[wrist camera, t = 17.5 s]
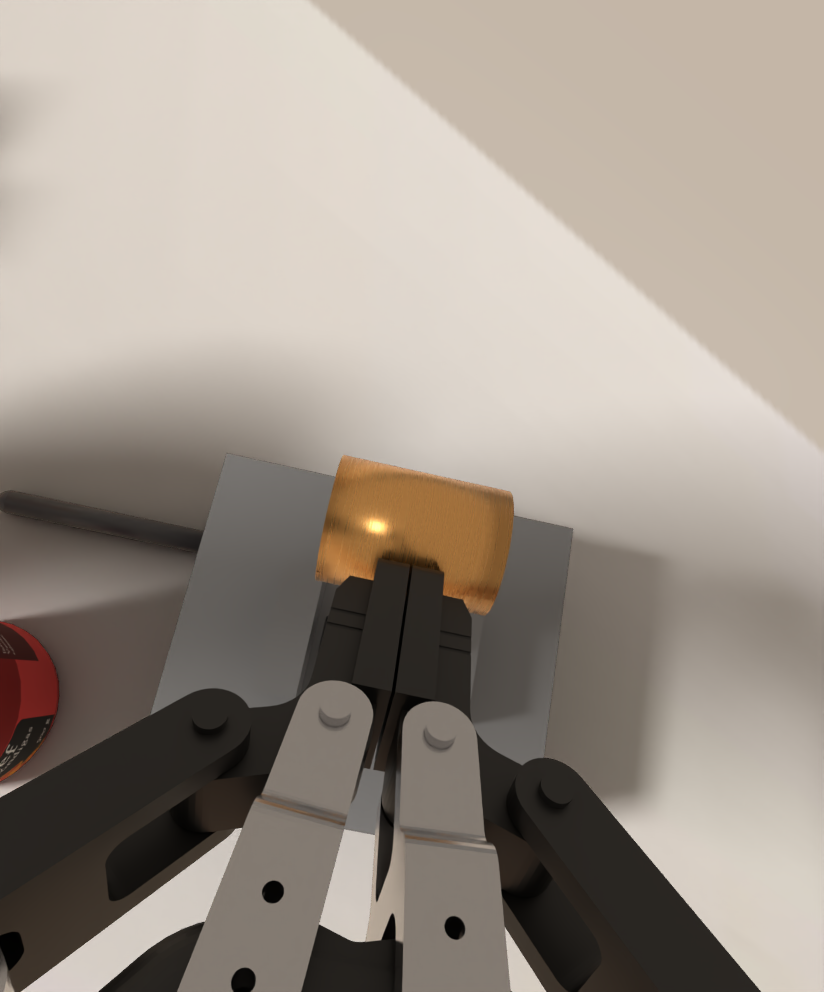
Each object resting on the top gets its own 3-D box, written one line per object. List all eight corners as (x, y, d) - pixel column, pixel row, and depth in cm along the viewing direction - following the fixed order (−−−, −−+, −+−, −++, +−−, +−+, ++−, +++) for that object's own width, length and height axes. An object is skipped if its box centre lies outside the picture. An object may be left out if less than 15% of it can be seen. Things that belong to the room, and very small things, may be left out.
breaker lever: (313, 676, 26) (315, 554, 14) (330, 605, 28) (347, 431, 15) (411, 696, 27) (504, 594, 14) (423, 624, 28) (519, 469, 15)
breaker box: (-77, 713, 32) (-277, 730, 22) (24, 451, 36) (-105, 358, 26) (486, 822, 34) (553, 887, 23) (525, 558, 38) (597, 512, 27)
